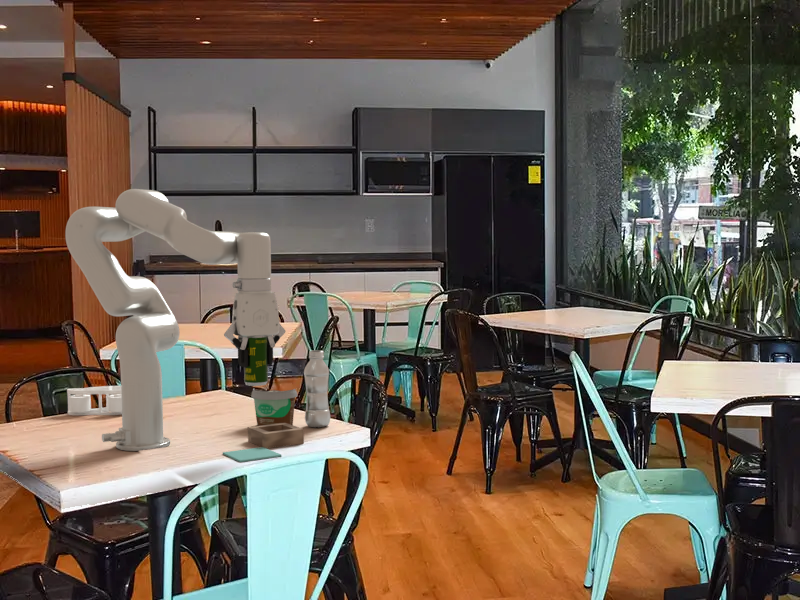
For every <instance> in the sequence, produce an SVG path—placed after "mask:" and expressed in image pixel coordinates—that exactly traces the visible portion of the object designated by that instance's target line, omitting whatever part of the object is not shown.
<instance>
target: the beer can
mask: <svg viewBox="0 0 800 600" xmlns="http://www.w3.org/2000/svg"><path fill="white" fill-rule="evenodd" d="M246 350H248V366H247V367H243V374H244V376H243V377H244V378H243V380H244V383H245V386H249V387H250V386H251V387H258V386H259V387H260V386H261V387H262V386H266V385H267V384H268V383H269V365H268V351H267V336H257V337H248V341H247V344H246Z"/></svg>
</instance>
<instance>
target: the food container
mask: <svg viewBox="0 0 800 600" xmlns="http://www.w3.org/2000/svg"><path fill="white" fill-rule="evenodd" d="M250 396H251V398H252V399H253V403H254V409H255V418H256V426H262V425H270V424H279V423H288V424H290V425H293V426H294V414H295V402H296V397H298V391H297V389H296V388H293V389H289V390H288V389H287V390H277V389H276V390H275V389H273V390H266V391H264V390H263V391H262V390H256V389H255V387H254V388H253V389H252V391H251V395H250Z"/></svg>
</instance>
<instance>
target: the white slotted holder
mask: <svg viewBox="0 0 800 600" xmlns="http://www.w3.org/2000/svg"><path fill="white" fill-rule="evenodd" d="M66 393H67V415H69V416H119V415H121V416H122V395H121V385H104V386H90V387H84V388H83V387H81V388H80V387H77V388H67V389H66ZM91 395H98V408H92V401H91V400H92V399H91V398H92V397H91ZM103 395H105V400H106V401H105V402H106V406H105V407H103V403H102V402H103V400H102V399H103V398H102V396H103Z"/></svg>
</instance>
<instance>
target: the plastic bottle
mask: <svg viewBox="0 0 800 600" xmlns="http://www.w3.org/2000/svg"><path fill="white" fill-rule="evenodd" d="M324 353H325V352H324V350H321V349H320V350H317V349H314V350H309V353H308V359H309V361H308V362H307V364H306V365H305V367H304V370H303V375H304V382H305V392H306V405H305V406H306V407H305V408H306V409H305V413H304V420H305V421H304V422H305V424H306V425H307V426H308V427H311V428H316V427H318V428H323V427H326V426H329V424H330V422H331V411H330V408H329V400H328V398H329V397H328V390H329V389H328V386H329V378H330V377H329V375H330V369H329V367H328V365H327V364H326V362H325V361H324V358H325V356H324V355H325V354H324Z"/></svg>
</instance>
